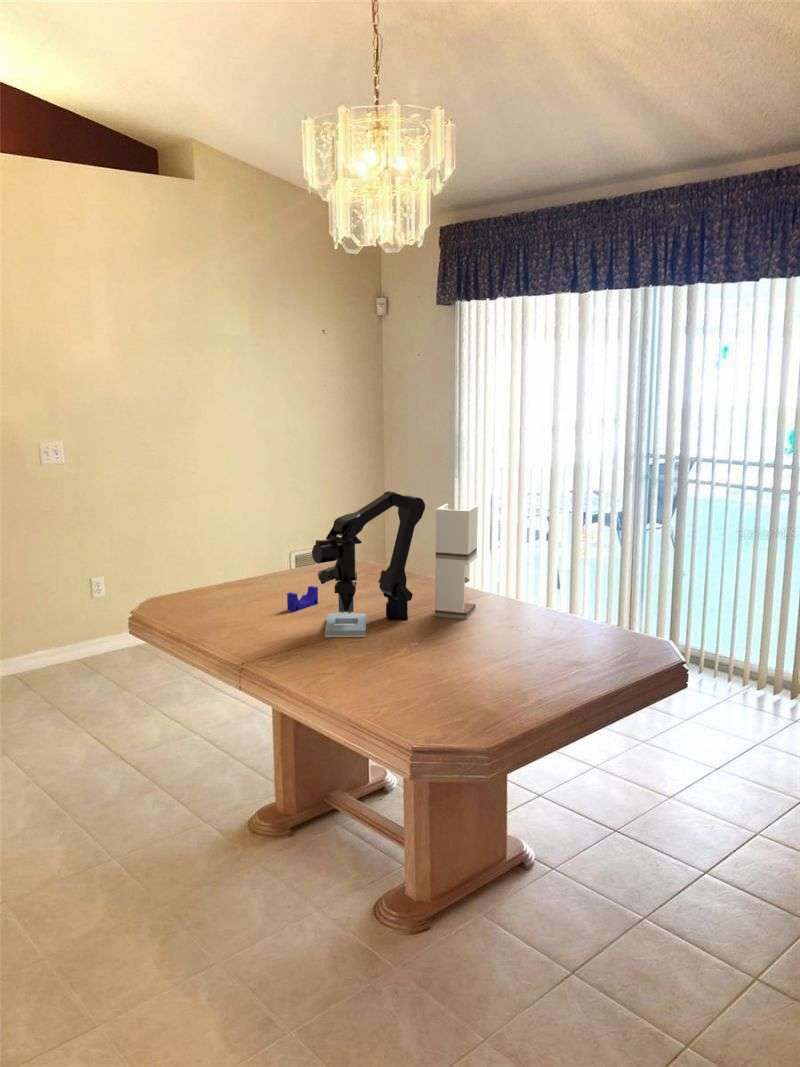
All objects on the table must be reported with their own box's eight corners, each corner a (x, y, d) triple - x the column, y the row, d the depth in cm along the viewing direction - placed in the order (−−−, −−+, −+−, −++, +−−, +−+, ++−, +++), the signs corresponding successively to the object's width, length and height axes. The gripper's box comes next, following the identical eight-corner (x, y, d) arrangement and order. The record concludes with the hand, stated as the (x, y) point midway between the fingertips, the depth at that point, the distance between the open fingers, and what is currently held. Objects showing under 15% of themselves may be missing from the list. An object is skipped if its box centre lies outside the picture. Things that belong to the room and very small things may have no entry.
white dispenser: (466, 619, 277) (469, 511, 271) (434, 616, 281) (436, 509, 274) (475, 610, 288) (477, 505, 281) (444, 607, 291) (446, 503, 285)
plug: (353, 610, 269) (353, 589, 268) (353, 614, 265) (353, 592, 264) (339, 610, 269) (339, 589, 268) (338, 614, 265) (338, 592, 263)
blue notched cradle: (307, 602, 297) (307, 585, 296) (318, 604, 295) (317, 587, 293) (284, 610, 287) (283, 592, 286) (294, 612, 285) (294, 594, 284)
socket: (366, 619, 277) (366, 613, 276) (365, 636, 259) (365, 630, 259) (328, 619, 277) (328, 613, 276) (325, 636, 259) (324, 630, 258)
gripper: (321, 552, 273) (322, 600, 276) (317, 566, 254) (317, 617, 257) (356, 552, 273) (357, 600, 276) (355, 566, 255) (355, 617, 258)
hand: (346, 608), depth 267 cm, fingers closed on plug, 4 cm apart
